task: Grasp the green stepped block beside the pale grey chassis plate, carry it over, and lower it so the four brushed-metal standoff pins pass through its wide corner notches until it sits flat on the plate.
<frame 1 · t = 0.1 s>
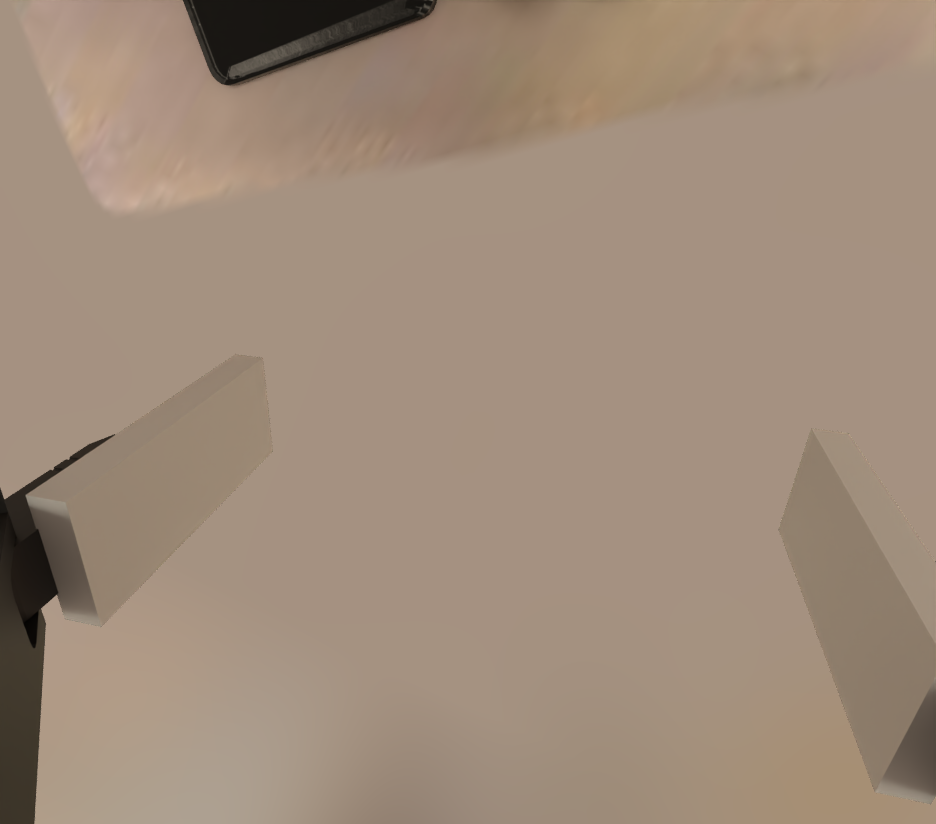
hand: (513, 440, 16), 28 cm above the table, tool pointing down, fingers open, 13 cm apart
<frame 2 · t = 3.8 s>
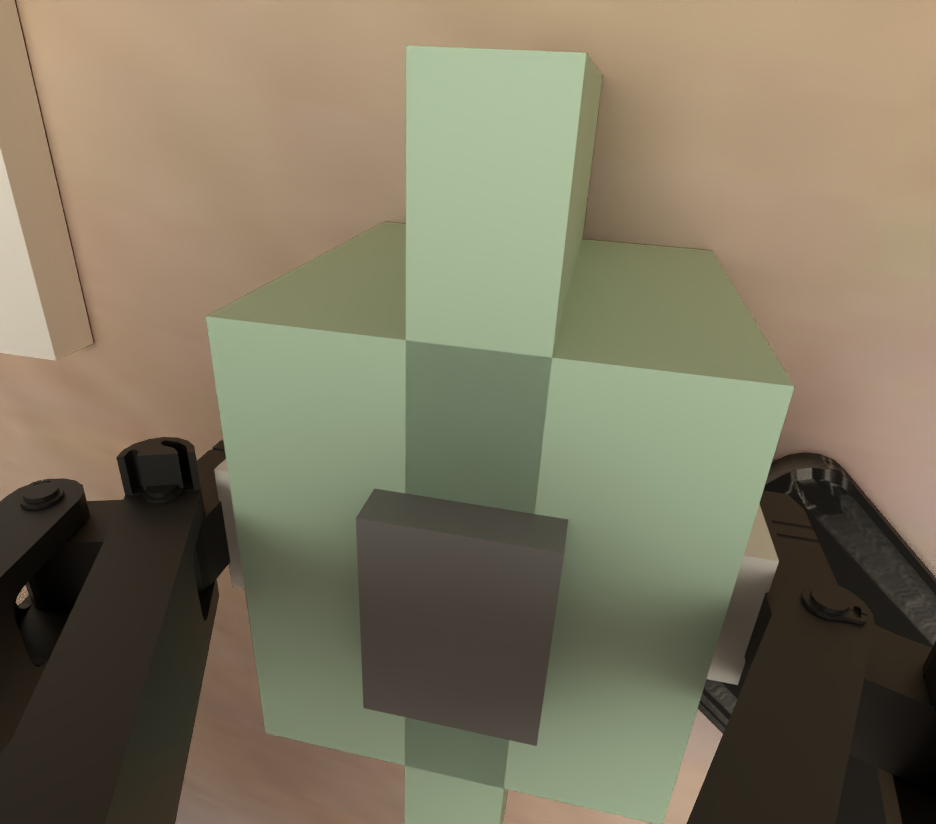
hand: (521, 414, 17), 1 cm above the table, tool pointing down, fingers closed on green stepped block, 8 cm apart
green stepped block: (525, 401, 18), on the table, touching gripper
phone: (834, 665, 20), on the table
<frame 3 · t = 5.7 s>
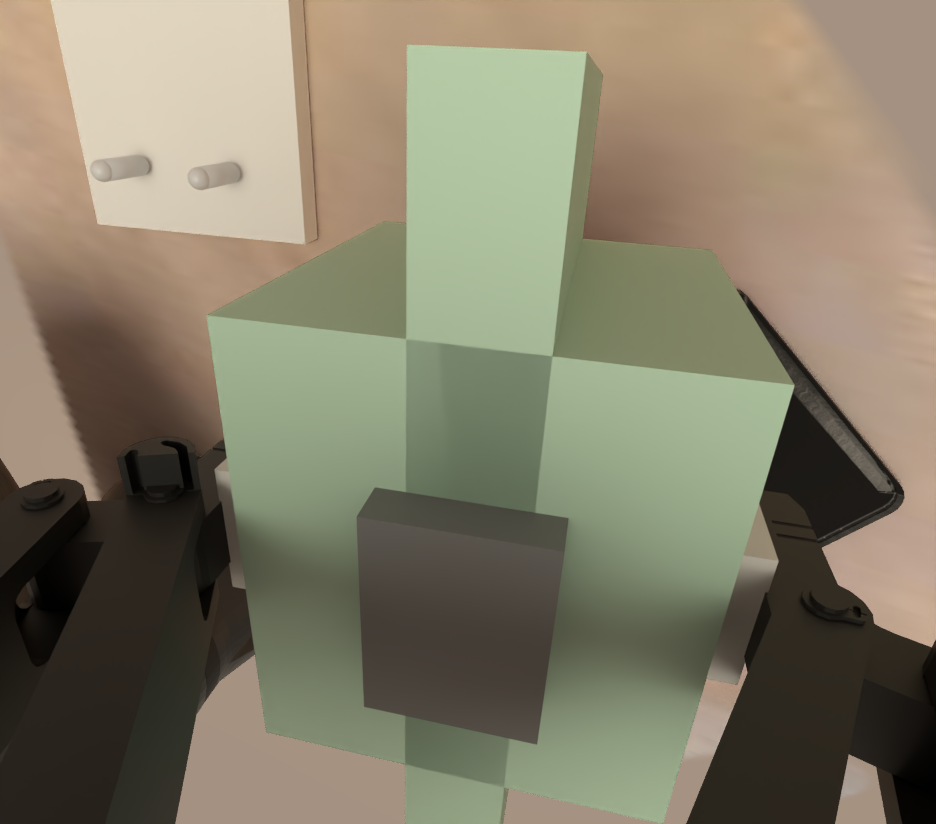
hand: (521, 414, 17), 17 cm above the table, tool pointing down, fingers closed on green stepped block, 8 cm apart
green stepped block: (525, 401, 18), point 16 cm above the table, touching gripper
chassis: (187, 25, 31), on the table
phone: (750, 429, 34), on the table
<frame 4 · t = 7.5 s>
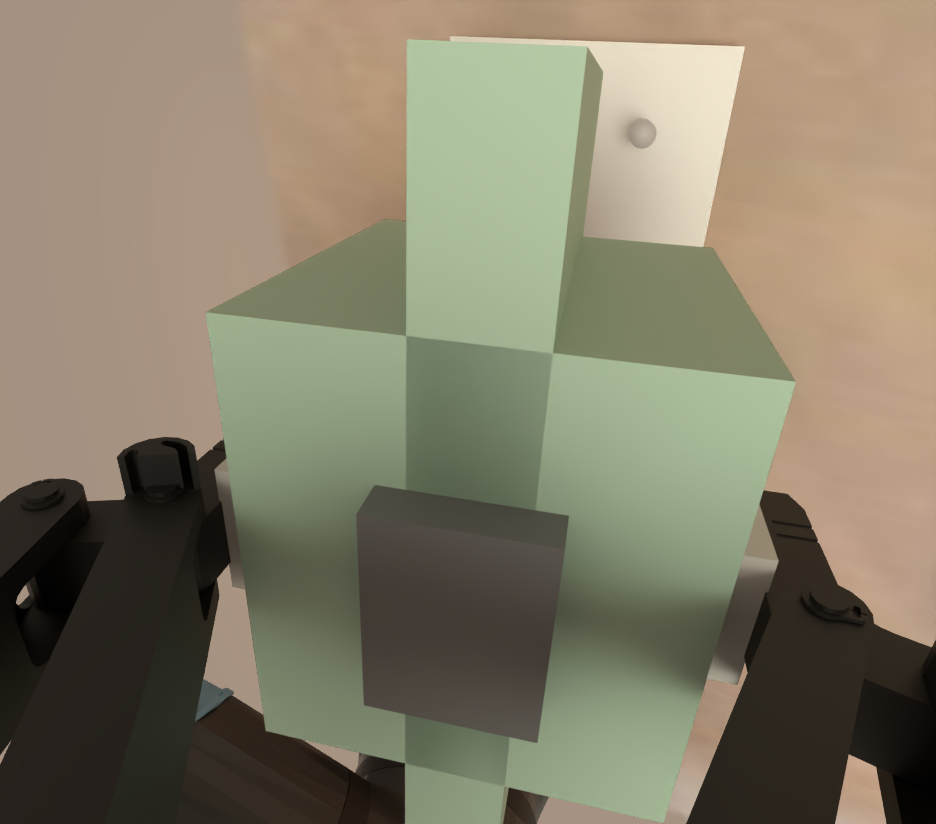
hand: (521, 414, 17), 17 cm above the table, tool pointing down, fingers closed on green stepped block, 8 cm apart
green stepped block: (525, 399, 18), point 16 cm above the table, touching gripper
chassis: (568, 263, 32), on the table
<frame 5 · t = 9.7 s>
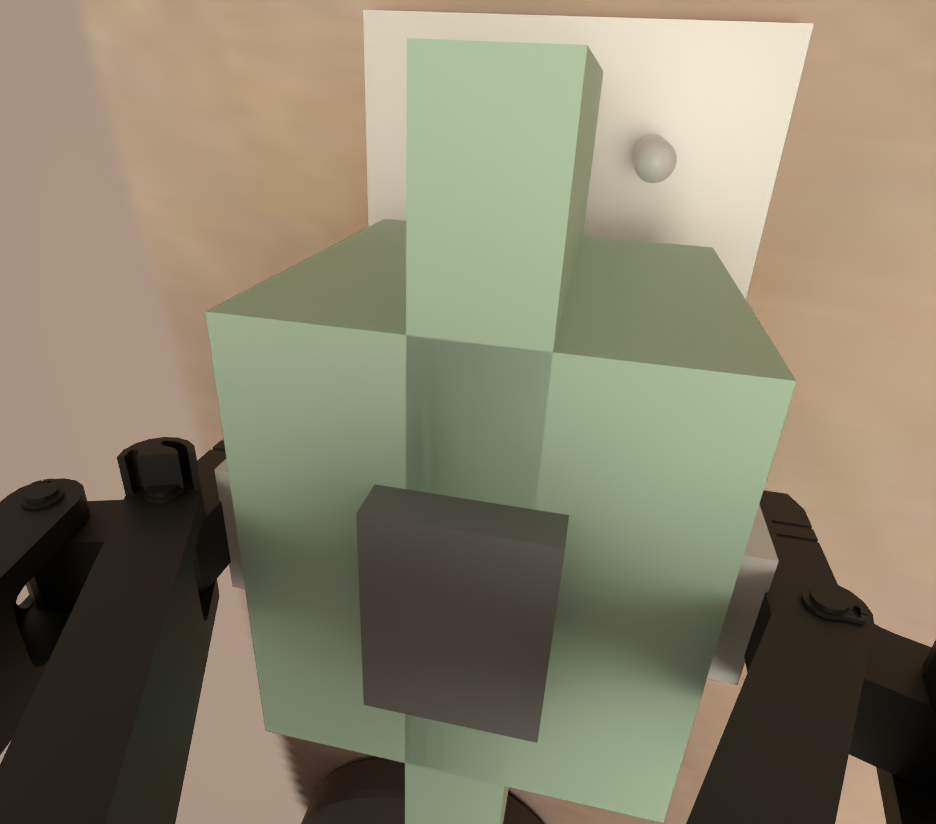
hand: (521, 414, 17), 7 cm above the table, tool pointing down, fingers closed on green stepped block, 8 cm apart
green stepped block: (525, 399, 18), point 6 cm above the table, touching gripper
chassis: (545, 333, 23), on the table
when the fingers open (3 cm above the table, at t = 11.4 s): green stepped block stays where it is, resting on chassis.
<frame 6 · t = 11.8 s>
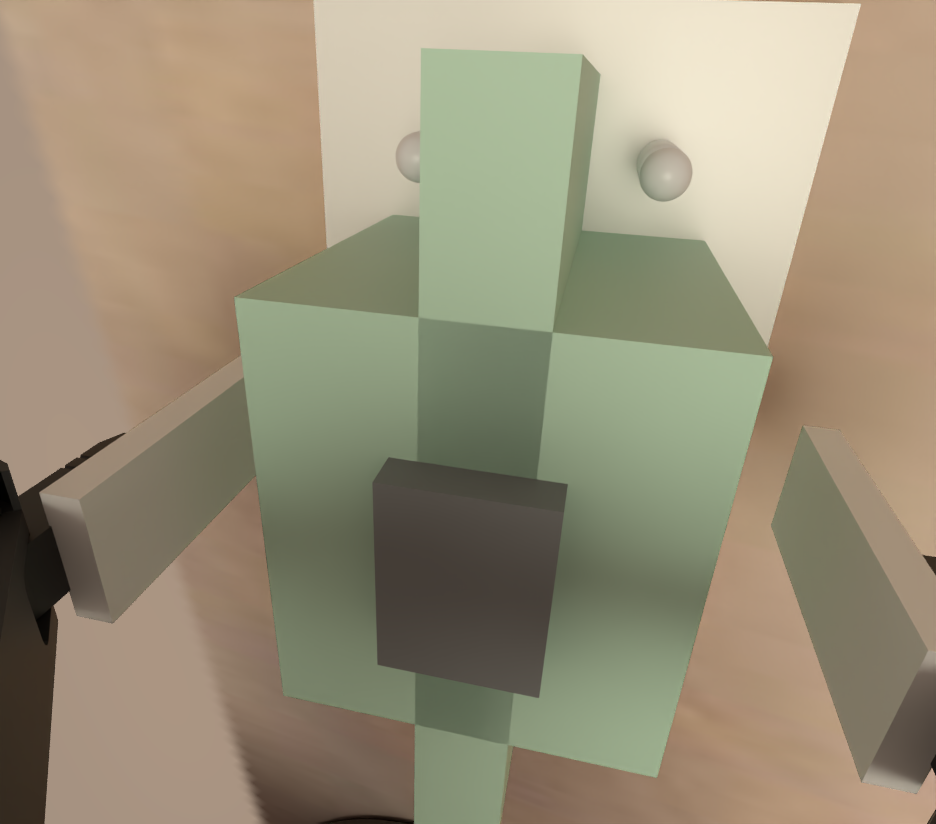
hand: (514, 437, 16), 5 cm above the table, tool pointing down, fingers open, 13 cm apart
green stepped block: (527, 387, 18), point 1 cm above the table, touching chassis
chassis: (535, 368, 20), on the table
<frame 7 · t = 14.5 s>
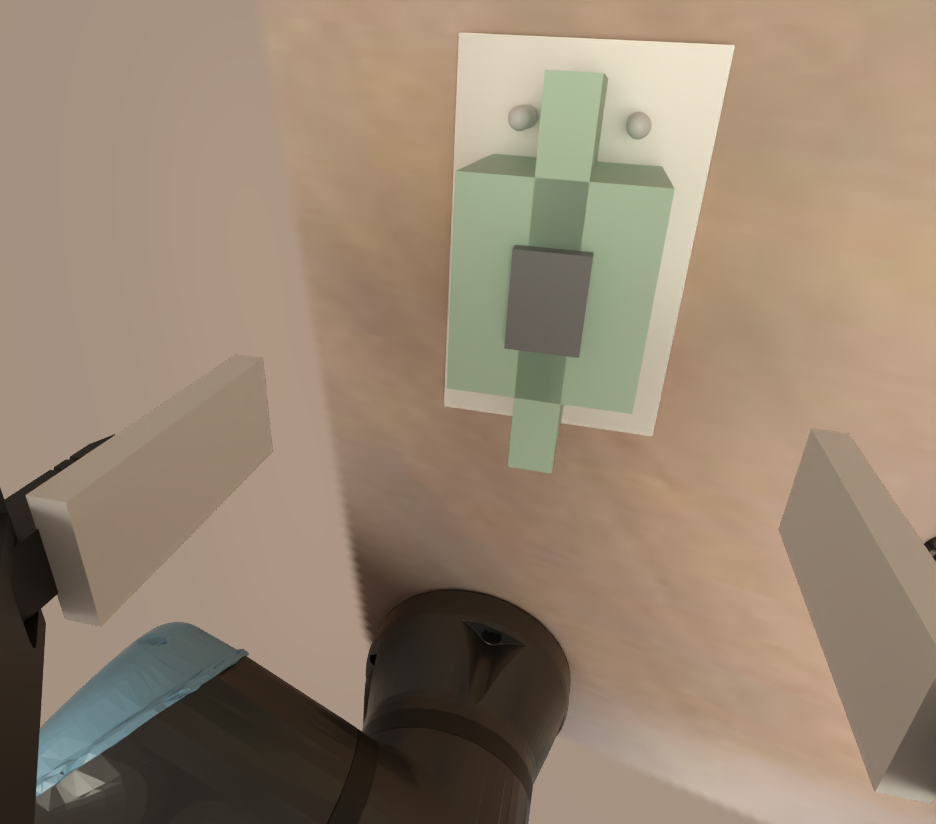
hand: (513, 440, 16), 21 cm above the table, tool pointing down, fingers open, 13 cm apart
green stepped block: (564, 254, 32), point 1 cm above the table, touching chassis
chassis: (567, 248, 34), on the table
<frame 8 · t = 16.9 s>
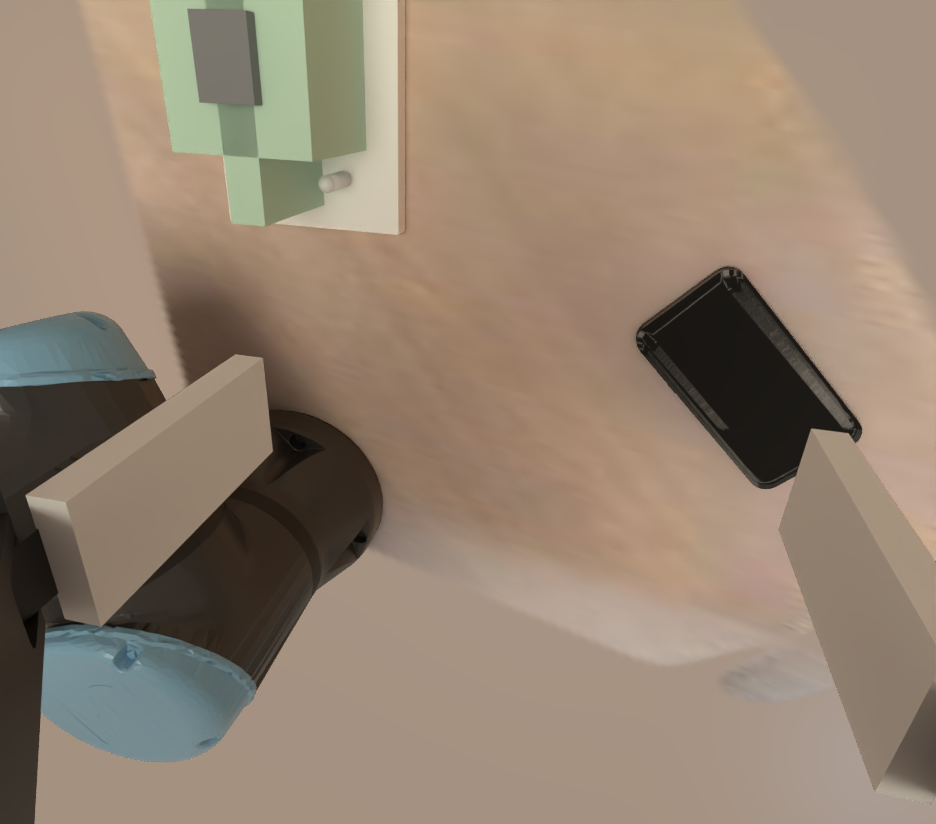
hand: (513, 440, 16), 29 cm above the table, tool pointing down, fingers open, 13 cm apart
green stepped block: (301, 65, 39), point 1 cm above the table, touching chassis
chassis: (312, 67, 40), on the table
phone: (744, 379, 43), on the table
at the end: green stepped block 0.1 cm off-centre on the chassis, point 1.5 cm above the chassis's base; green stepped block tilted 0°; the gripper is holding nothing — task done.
